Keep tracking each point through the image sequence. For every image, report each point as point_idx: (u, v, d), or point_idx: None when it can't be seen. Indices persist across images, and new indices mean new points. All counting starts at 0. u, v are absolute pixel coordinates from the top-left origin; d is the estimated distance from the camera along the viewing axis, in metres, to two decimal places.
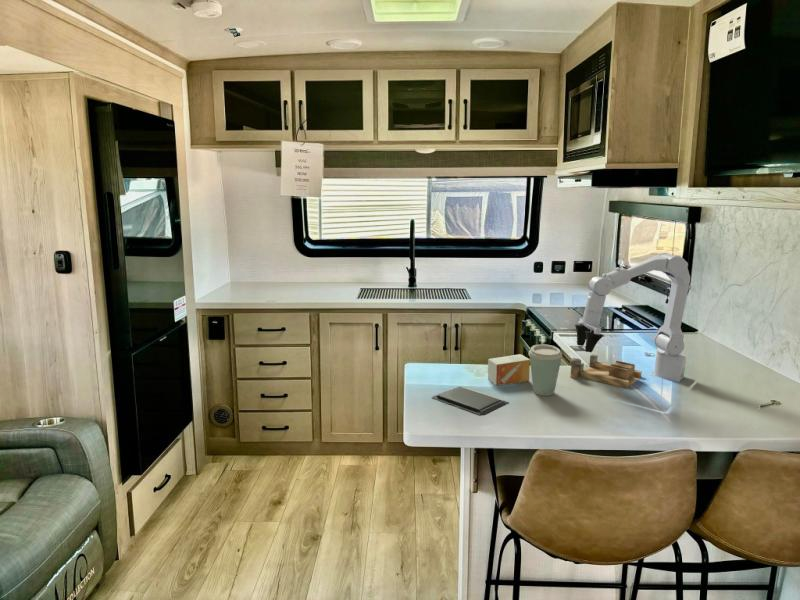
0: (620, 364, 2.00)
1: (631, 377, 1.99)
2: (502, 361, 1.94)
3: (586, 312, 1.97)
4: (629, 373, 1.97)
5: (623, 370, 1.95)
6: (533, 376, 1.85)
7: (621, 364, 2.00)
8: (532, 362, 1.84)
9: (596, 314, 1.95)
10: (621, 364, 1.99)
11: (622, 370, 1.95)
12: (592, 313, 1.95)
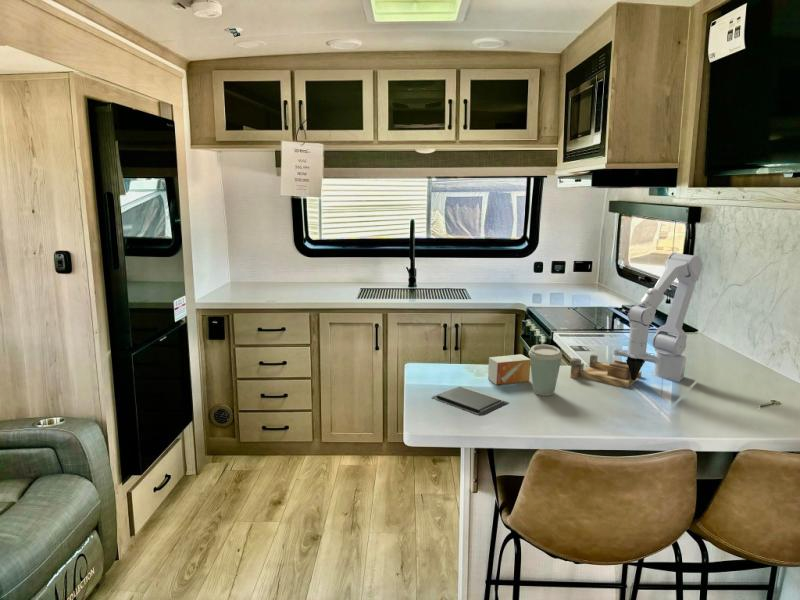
0: (618, 364, 2.00)
1: (630, 377, 1.99)
2: (503, 360, 1.94)
3: (637, 345, 1.92)
4: (628, 373, 1.97)
5: (621, 370, 1.95)
6: (533, 376, 1.85)
7: (619, 364, 2.00)
8: (532, 362, 1.84)
9: (646, 344, 1.93)
10: (620, 364, 2.00)
11: (620, 370, 1.95)
12: (644, 344, 1.92)
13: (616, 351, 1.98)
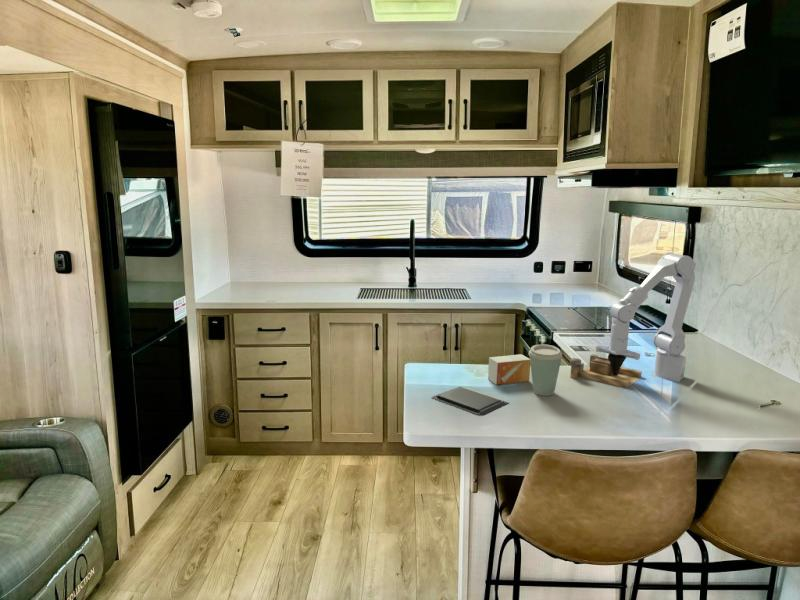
0: (601, 360, 2.04)
1: (611, 373, 2.03)
2: (503, 360, 1.94)
3: (618, 341, 1.96)
4: (610, 369, 2.01)
5: (603, 366, 1.99)
6: (533, 376, 1.85)
7: (602, 360, 2.04)
8: (532, 362, 1.84)
9: (627, 340, 1.96)
10: (602, 360, 2.03)
11: (602, 366, 1.99)
12: (625, 340, 1.96)
13: (598, 347, 2.02)
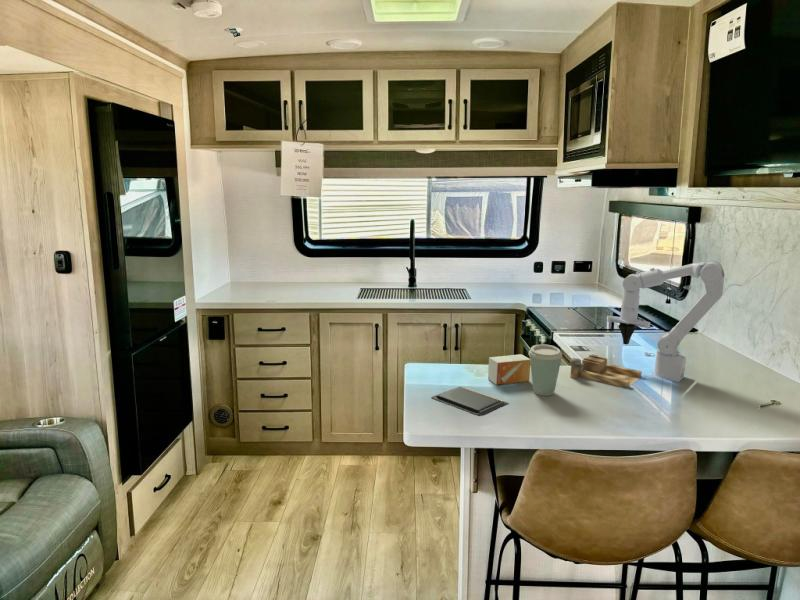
0: (593, 358, 2.06)
1: (603, 371, 2.05)
2: (503, 360, 1.94)
3: (629, 311, 2.05)
4: (601, 367, 2.03)
5: (595, 364, 2.01)
6: (533, 376, 1.85)
7: (594, 358, 2.06)
8: (532, 362, 1.84)
9: (637, 310, 2.05)
10: (594, 359, 2.05)
11: (594, 364, 2.01)
12: (635, 310, 2.05)
13: (609, 317, 2.11)
